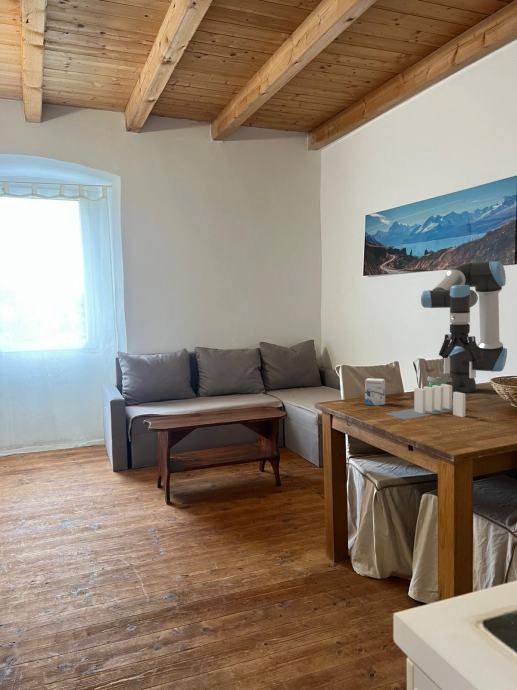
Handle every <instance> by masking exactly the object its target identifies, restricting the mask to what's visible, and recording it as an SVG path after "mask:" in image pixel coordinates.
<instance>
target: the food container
mask: <svg viewBox="0 0 517 690" xmlns="http://www.w3.org/2000/svg"><path fill="white" fill-rule="evenodd" d="M448 377H449V376H448ZM448 377H442V376H431V375H430V374H428V376H427V379H426V380H427V381H428V387H431V388H432V386H433V385H436V386H441V384H446V385H451V382H452V378H451V377H449V378H448Z"/></svg>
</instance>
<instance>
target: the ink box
mask: <svg viewBox="0 0 517 690" xmlns="http://www.w3.org/2000/svg"><path fill="white" fill-rule="evenodd" d="M364 405H365V406H366V405H367V406H381V405H382V406H383V405H386V379H385V378H373V377H372V378H369V377H368V378H366V379H364Z"/></svg>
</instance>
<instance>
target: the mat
mask: <svg viewBox="0 0 517 690" xmlns="http://www.w3.org/2000/svg"><path fill="white" fill-rule="evenodd" d="M449 412H453V404H452V408H451V409H448V408H444V407H443V410H437V409H435V411H434V412H430V411H427V410H426V413H419V412H416V411H414V408H410V409H409V408H408V409H403V410H397V411H392V412H385V413H384V414H385V415H388V416H391V417H393V418H394V417H395V418H397V419H401V420H403V421H404V420H405V421H406V420H409V419H415V418H420V417H426V416H427V417H428V416H432V415H437V414H443V413H449Z"/></svg>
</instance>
